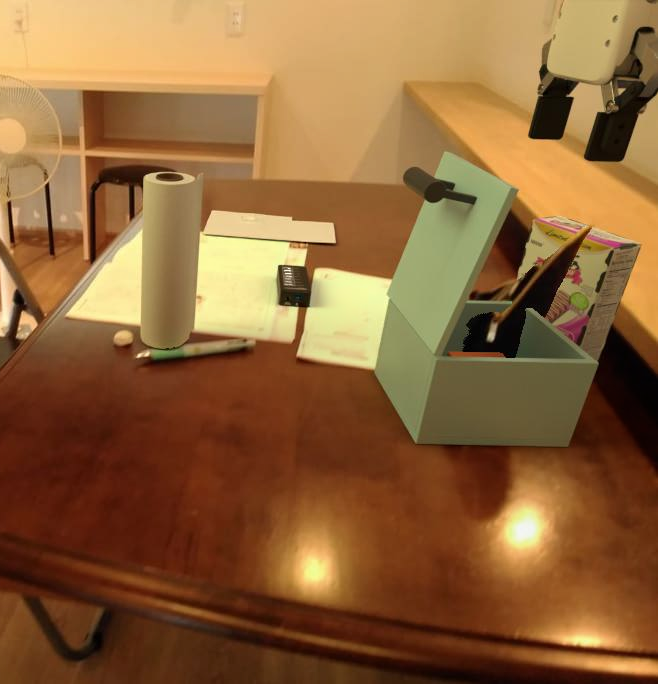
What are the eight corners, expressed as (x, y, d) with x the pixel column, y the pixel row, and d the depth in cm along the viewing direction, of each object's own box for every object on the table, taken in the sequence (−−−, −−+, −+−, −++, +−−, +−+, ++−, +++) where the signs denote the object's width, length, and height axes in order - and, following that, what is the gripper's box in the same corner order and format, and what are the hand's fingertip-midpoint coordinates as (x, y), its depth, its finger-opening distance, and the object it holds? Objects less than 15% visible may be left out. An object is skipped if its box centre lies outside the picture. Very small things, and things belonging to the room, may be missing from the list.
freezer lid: (451, 152, 71) (398, 140, 70) (519, 189, 58) (455, 174, 57) (392, 295, 78) (344, 285, 78) (441, 356, 65) (383, 344, 65)
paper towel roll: (139, 349, 87) (143, 181, 77) (140, 328, 92) (143, 169, 82) (196, 351, 87) (207, 183, 77) (194, 330, 92) (203, 170, 82)
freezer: (502, 375, 83) (524, 301, 78) (568, 447, 70) (599, 363, 66) (373, 373, 83) (388, 298, 78) (415, 444, 70) (436, 359, 65)
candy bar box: (496, 335, 93) (530, 217, 85) (524, 330, 94) (559, 214, 87) (569, 374, 84) (614, 246, 76) (598, 368, 85) (645, 241, 78)
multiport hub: (304, 279, 109) (306, 265, 108) (309, 307, 100) (311, 292, 99) (276, 277, 110) (277, 264, 109) (278, 305, 100) (280, 290, 99)
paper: (202, 236, 127) (202, 230, 127) (208, 210, 142) (208, 205, 142) (340, 245, 124) (340, 240, 124) (331, 218, 139) (332, 213, 139)
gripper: (767, -73, 48) (675, 172, 56) (617, -58, 63) (561, 132, 71) (660, -76, 48) (583, 170, 56) (536, -60, 63) (489, 131, 71)
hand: (571, 149), depth 64 cm, fingers open, 9 cm apart
